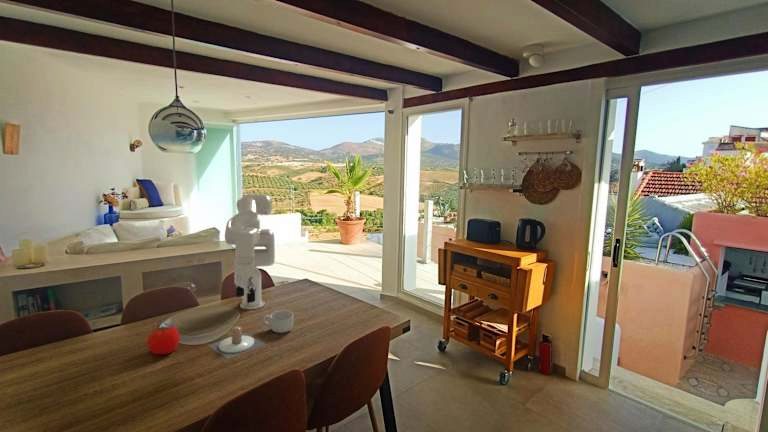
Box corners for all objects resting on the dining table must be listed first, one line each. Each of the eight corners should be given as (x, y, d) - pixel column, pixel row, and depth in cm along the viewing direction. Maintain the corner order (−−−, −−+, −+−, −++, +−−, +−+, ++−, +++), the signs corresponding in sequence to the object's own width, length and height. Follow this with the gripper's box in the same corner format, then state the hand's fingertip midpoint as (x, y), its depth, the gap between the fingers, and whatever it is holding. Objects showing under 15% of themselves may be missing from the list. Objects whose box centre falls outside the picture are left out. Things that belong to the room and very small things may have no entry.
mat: (207, 346, 155) (207, 345, 155) (244, 333, 168) (244, 332, 168) (228, 360, 144) (227, 359, 144) (265, 345, 157) (265, 344, 157)
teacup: (296, 326, 177) (296, 310, 176) (288, 336, 166) (288, 320, 165) (269, 324, 178) (269, 308, 177) (259, 334, 168) (259, 317, 167)
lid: (212, 345, 155) (212, 328, 154) (243, 334, 166) (242, 318, 165) (229, 356, 146) (229, 338, 145) (260, 344, 157) (260, 327, 156)
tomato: (187, 349, 152) (186, 325, 151) (160, 361, 142) (159, 336, 141) (168, 342, 157) (167, 319, 156) (140, 354, 147) (139, 329, 146)
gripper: (227, 257, 157) (227, 296, 159) (246, 264, 145) (246, 306, 147) (243, 255, 162) (244, 292, 164) (263, 262, 150) (264, 302, 152)
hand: (245, 299), depth 155 cm, fingers open, 9 cm apart
